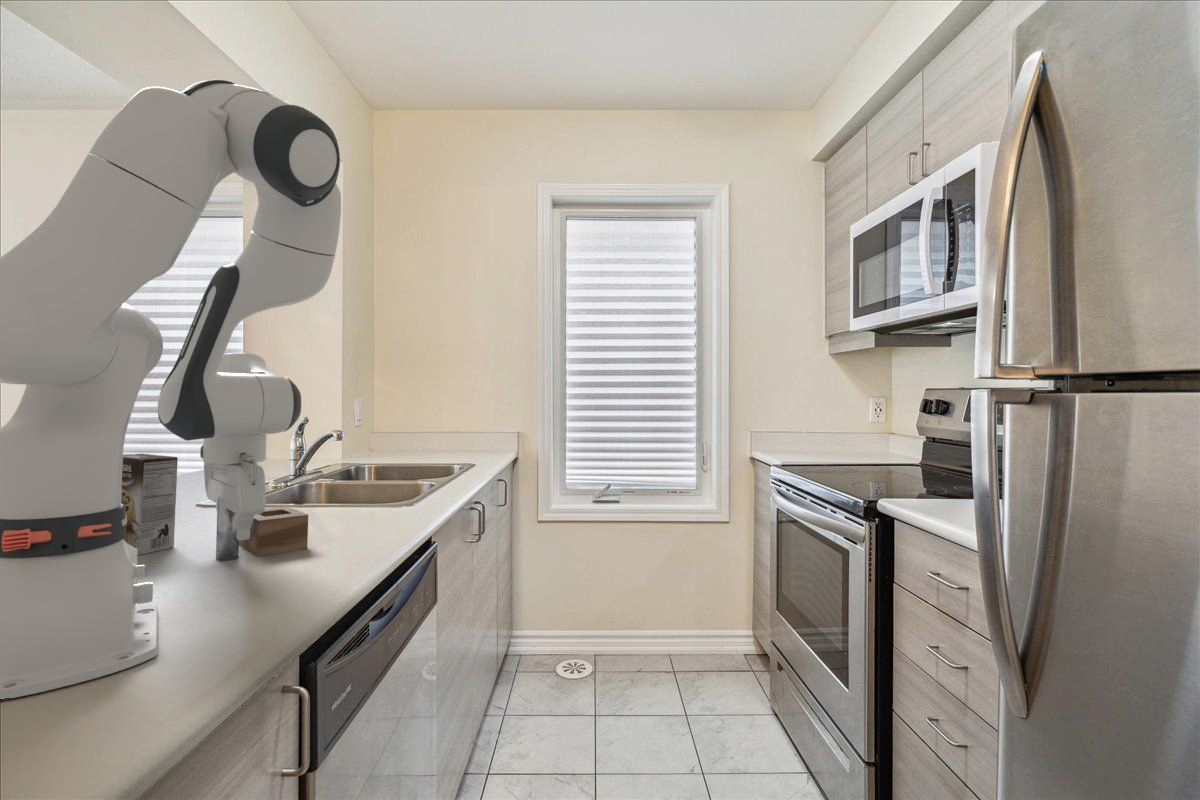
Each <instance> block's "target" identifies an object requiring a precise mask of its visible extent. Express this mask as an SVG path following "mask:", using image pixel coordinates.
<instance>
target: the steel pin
mask: <svg viewBox="0 0 1200 800" xmlns="http://www.w3.org/2000/svg"><path fill="white" fill-rule="evenodd" d="M235 528H237V519H236V513H234V512H232V511H231V510H229V509H227V508H225V507H224V506H223V500H222V499H220V498H218V501H217V510H216V535H215V536H216V539H215V540H216V542H215V560H216V561H219V562H220V561H232V560H235V559H238V558H239V557H240V554H239V553H240V545H239V540H238V539H236V538H235Z"/></svg>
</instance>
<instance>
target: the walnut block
mask: <svg viewBox="0 0 1200 800" xmlns="http://www.w3.org/2000/svg"><path fill="white" fill-rule="evenodd" d="M308 532H309V514H308V513H306V512H303V511H300V510H298V509H295V508H293V507H290V506H287V505H286V506H278V507H276V506H275V507H269V508H268V507H267V508H266V507H265V510H264V512H263V513H261V514H255V515H254V519H253V522H252V525H251V528H250V538H249V539H247V540H239V546H240V545H241V546H240V547H242V548H244V549H245V550H247V551H249V552H250V553H252V554H254V555H256V556H257V557H260V556H266V555H272V554H278V553H285V552H289V551H294V550H295V551H296V550H301V549H308V540H309V539H308V538H309V537H308V535H309V533H308Z"/></svg>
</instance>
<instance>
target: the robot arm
mask: <svg viewBox="0 0 1200 800" xmlns="http://www.w3.org/2000/svg"><path fill="white" fill-rule="evenodd" d="M340 154H341V153H340V148H339V143H338V139H337V137H336V135H335V132H334V131H333V129H332V128H331V127H330V126H329V124H327V123H326V122H325V121H324V120H323V119H322V118H321V117H319V116H318V115H316V114H315V113H313V112H312V111H311V110H308V109H306V108H304V107H302V106H301V105H300V106H299V105H295V104H291V103H290V102H288V101H285V100H283V99H281V98H279V97H276V96H274V94H271V93H269V92H268V91H264V90H260V89H257V88H254V87H250V86H246V85H241V84H237V83H235V82H232V81H228V80H223V79H207V80H206V79H205V80H201V81H198V82H195V83H193V84H190V85H189V86H188V87H186V88H185V89H184V90H183V91H178V90H176V89H171V88H167V87H162V86H149V87H145V88H142V89H141V90H139V91H138V92H137V93H135V94H134V96H132V97H131V99H129V100H128V101H127V102H126V103H125V104H124V105H123V106H122V108H121V109H120V110H119V111H118V112H117V113H116V114H115V115H114V117H113V118H112V119H111V120H110V122H109V123H108V124H107V125H106V126H105V127H104V129H103V130H102V131H101V133H100V134H99V136H98V138H97V139H96V141H95V142H94V143H93V145H92V147H91V148H90V150H89V152H88V153H87V155H86V156H85V158H84V160H83V162H82V164H81V165H80V167H79V169H78V171H76V174H75V175H74V177H73V178H72V179H71V182H70V183H69V185H68V187H67V188H66V190H65V191H64V193H63V194H62V196H61V197H60V199H59V201H58V202H57V204H56V206H55V207H54V208H53V210H52V211H51V212H50V214H49V215H48V216H47V217H46V218H45V220H43V222H42V223H41V224H39V226H37V227H36V228H35V230H33V231H32V232H31V233H30V234H29V235H28V236H26V237H25V238H24V239H23V240H21V241H20V242H18V244H17V245H15V246H14V247H13V248H11V249H10V250H9V251H8V252H6V253H5V254H4V255H2V256H0V383H1V384H8V385H25V389H24V392H23V394H22V396H21V400H20V401H19V404H18V406H17V408H16V410H15V412H14V413H13V414H12V417H10V419H9V420H8V421H7V422H6V423H5V424H4V425H2V426H1V428H0V699H2V698H10V699H14V698H18V697H20V698H21V697H24V696H30V695H34V694H38V693H43V692H47V691H50V690H51V691H52V690H56V689H59V688H63V687H64V688H65V687H67V686H71V685H76V684H80V683H83V682H87V681H90V680H95V679H97V678H101V677H103V676H104V677H105V676H107V675H110V674H114V673H116V672H119V671H123V670H126V669H130V668H132V667H134V666H137V665H140V664H142V663H144V662H146V661H148V660H151V659H153V658H155V657H157V655H158V653H159V609H158V606H157V605H154V604H149V603H152V602H153V598H154V597H153V595H154V582H153V581H145V582H139V583H137V578H142V577H146V564H138V555H137V549H136V548H133V546H131V545H129V544H127V543H126V542H125V541H124V538H125V537H126V524H127V516H126V513H125V505H123V504H122V503H121V489H122V468H123V454H124V448H125V440H126V435H127V431H128V426H129V422H130V419H131V417H132V412H133V411H134V407H135V405H136V401H137V398H138V395H139V392H140V390H141V389H142V388H141V387H142V385H143V383H144V381H145V379H146V377H147V376H148V374H150V372H151V371H153V370H154V369H155V367H156V366H157V364H158V363H159V362H160V360H161V357H162V354H163V351H164V350H163V349H164V342H163V337H162V336H163V335H162V333H161V331H160V329H159V328H158V326H157V325H156V324H155V322H153V321H152V319H150V318H149V317H148V316H147V315H145V314H144V313H142V312H141V311H139V310H137V309H136V308H134V307H133V306H131V305H129V304H128V303H126V302H127V301H128V300H129V299H130V298H131V297H132V296H133V295H134V294H135V293H136V292H137V291H138V290H140V289H141V288H142V287H143V286H144V285H146V284H148V283H149V282H150V281H152V280H154V279H156V278H159V277H161V276H163V275H165V274H166V273H167V272H168V271H170V269H172V268H173V266H174V264H175V262H176V261H177V259H178V257H179V255H180V254H181V252H182V250H183V249H184V247H185V244H186V243H187V241H188V239H189V237H190V236H191V234H192V232H193V231H194V228H195V227H196V225H197V223H198V221H199V220H200V218H201V216H202V213H203V212H204V210H205V209H206V206H207V205H208V203H209V201H210V198H211V196H212V194H213V192H214V190H215V188H216V186H217V185H218V184H220V182H221V181H223V180H224V179H225V178H226V177H228V176H230V175H231V174H236V175H237V176H239V177H240V178H242V179H245V180H246V181H248V182H252V183H253V185H254V187H255V189H256V194H257V198H258V200H257V202H258V205H257V207H256V208H257V209H256V212H255V216H254V219H253V223H252V228H251V233H250V236H249V240H248V242H247V244H246V246H245V248H244V249H243V250H242V252H241V254H239V256H238V257H237V258H236V259H235V260H234V261H232V263H229V264H226V265H223V266H220V267H219V268H218V269H217V270H216V272H215V273H214V275H213V276H212V278H211V279H210V281H209V283H208V284H207V288H206V290H205V291H204V294H203V296H202V298H201V301H200V303H199V305H198V308H197V310H196V312H195V315H194V317H193V319H192V323H191V325H190V327H189V330H188V333H187V335H186V337H185V340H184V342H183V344H182V347H181V350H180V353H179V354H178V356H177V359H176V362H175V363H174V365H173V368H172V369H171V371H170V372H169V374H168V376H167V377H166V379H165V380H164V383H163V385H162V387H161V390H160V392H159V397H158V400H157V417H158V420H159V422H160V424H162V426H163V427H164V428H165V429H166V430H168V431H169V432H171V433H172V434H174V435H175V436H177V437H179V438H181V439H183V440H184V441H196V440H203V443H202V445H201V446H200V448H199V449H200V450H199V452H200V453H199V454H200V458H201V459H202V462H203V473H204V486H205V487H204V490H205V492H206V493H205V495H206V497H207V499H208V500H209V501H212V502H214V503H215V509H216V511H217V501H218V498H220V499H222V500H223V506H224V507H225V508H227V509H229V510H231V511H232V512H234V513H236V519H237V528H235V538H236V539H238V540H247V539H249V538H250V528H251V525H252V522H253V519H254V515H255V514H261V513H263V512H264V510H265V509H266V505H267V501H266V500H267V498H266V492H267V491H266V477H265V476H266V475H265V471H264V468H263V467H262V466H261V465H259V464H258V463H260V462H261V463H262V462H264V461H266V460H267V435H273V434H280V433H283V432H284V433H285V432H287V431H289V430H290V429H291V428H292V427H293V426H294V425H295V424H296V423H297V422H298V420H299V418H300V416H301V412H302V395H301V391H300V390H299V388H298V386H297V385H296V383H294V382H293V380H291V379H290V378H288V377H287V376H282V375H280V374H277V372H274V371H272V370H270V369H269V368H268V367H267V365H266V362H265V360H264V358H263V357H261V356H260V355H257V354H254V353H250V352H249V353H248V352H232V353H230V352H229V353H228V352H226V350H227V347H228V345H229V343H230V340H231V338H232V335H233V332H234V330H235V329H236V328H237V326H238V325H239V324H240V323H241V322H242V321H243V320H246V319H247V318H249V317H250V316H253V315H255V314H258V313H260V312H263V311H267V310H268V311H269V310H271V309H274V308H275V309H277V308H280V307H287V306H292V305H296V304H299V303H302V302H304V301H307V300H309V299H311V298H313V297H314V296H316V295H317V294H319V293H320V292H321V291H322V290H323V289H324V288H325V286H326V284H327V282H328V281H329V279H330V276H331V273H332V270H333V264H334V261H335V257H336V253H337V247H338V242H339V236H340V227H341V218H342V216H341V215H342V194H341V191H340V188H339V186H338V184H337V181H338V177H339V172H340V167H341V166H340V165H341V163H340V162H341V156H340ZM225 352H226V353H225Z"/></svg>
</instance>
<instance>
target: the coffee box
mask: <svg viewBox="0 0 1200 800" xmlns="http://www.w3.org/2000/svg"><path fill="white" fill-rule="evenodd" d="M178 459H179V458H178V457H177V456H169V455H161V454H159V455H158V454H150V453H133V454H131V453H130V454H128V453H126V454H125V453H123V468H122V489H121V503H122V504H123V505H125V513H126V516H127V524H126V537H125V538H124V541H125V542H126V543H127V544H129V545H131V546H133V548H136V549H137V556H141V555H145V554H150V553H155V552H158V551H163V550H167V549H172V548H174V547H175V529H176V527H175V526H176V502H177V481H178V480H177V478H178Z"/></svg>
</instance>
